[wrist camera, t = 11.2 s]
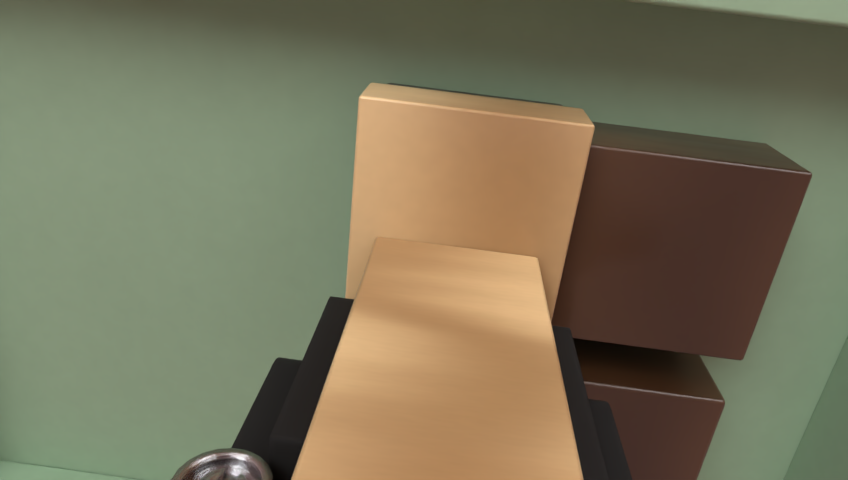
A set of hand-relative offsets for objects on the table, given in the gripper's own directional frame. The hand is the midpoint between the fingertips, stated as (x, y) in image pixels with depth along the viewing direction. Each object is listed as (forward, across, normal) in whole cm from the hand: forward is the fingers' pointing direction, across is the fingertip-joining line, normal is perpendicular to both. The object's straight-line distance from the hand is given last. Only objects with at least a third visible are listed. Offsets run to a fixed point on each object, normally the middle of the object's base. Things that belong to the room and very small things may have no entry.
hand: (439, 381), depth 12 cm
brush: (+3, 0, 0) cm, 3 cm away
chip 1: (+3, -4, -3) cm, 6 cm away
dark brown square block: (+3, -4, +2) cm, 6 cm away
